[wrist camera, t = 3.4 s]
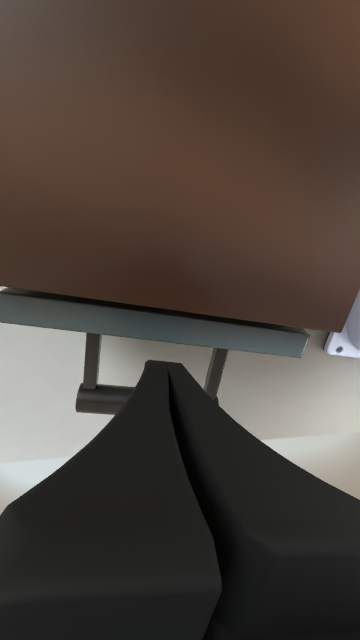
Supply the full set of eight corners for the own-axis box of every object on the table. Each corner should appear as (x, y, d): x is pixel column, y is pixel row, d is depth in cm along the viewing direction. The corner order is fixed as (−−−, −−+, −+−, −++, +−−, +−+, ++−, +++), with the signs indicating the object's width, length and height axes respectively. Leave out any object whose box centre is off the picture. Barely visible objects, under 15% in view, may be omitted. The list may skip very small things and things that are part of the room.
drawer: (232, 374, 19) (269, 443, 13) (53, 356, 17) (4, 427, 11) (317, 82, 13) (447, -23, 8) (60, 2, 11) (-32, -224, 6)
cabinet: (261, 285, 18) (341, 333, 10) (49, 251, 16) (-41, 280, 8) (337, 26, 13) (575, -217, 6) (54, -75, 11) (-138, -670, 4)
